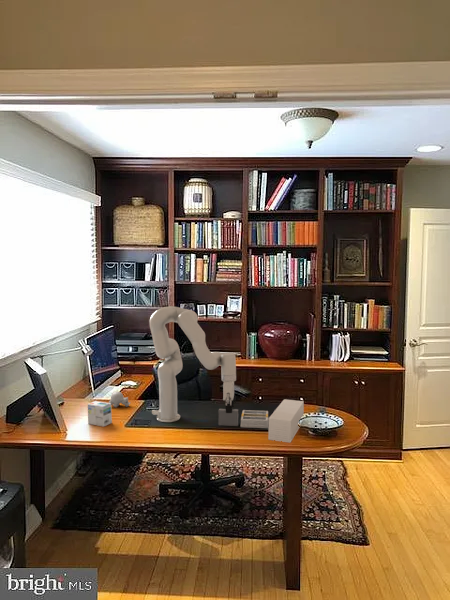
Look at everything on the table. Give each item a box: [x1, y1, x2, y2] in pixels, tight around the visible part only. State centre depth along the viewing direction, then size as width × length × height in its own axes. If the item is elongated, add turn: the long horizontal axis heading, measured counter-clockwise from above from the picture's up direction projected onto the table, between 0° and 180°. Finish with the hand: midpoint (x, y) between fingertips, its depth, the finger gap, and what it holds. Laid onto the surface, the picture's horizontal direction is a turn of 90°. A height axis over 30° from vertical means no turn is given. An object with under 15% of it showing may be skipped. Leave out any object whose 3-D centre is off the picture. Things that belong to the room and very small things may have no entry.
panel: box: [218, 408, 239, 427], centre depth 244 cm, size 10×2×8 cm, turn 84°
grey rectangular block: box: [267, 398, 305, 443], centre depth 237 cm, size 32×11×11 cm, turn 160°
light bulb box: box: [87, 400, 113, 428], centre depth 245 cm, size 11×7×11 cm, turn 65°
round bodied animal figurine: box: [108, 390, 131, 408], centre depth 274 cm, size 7×12×8 cm, turn 84°
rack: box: [240, 409, 269, 429], centre depth 247 cm, size 14×16×4 cm
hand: (229, 409), depth 243 cm, fingers open, 9 cm apart
